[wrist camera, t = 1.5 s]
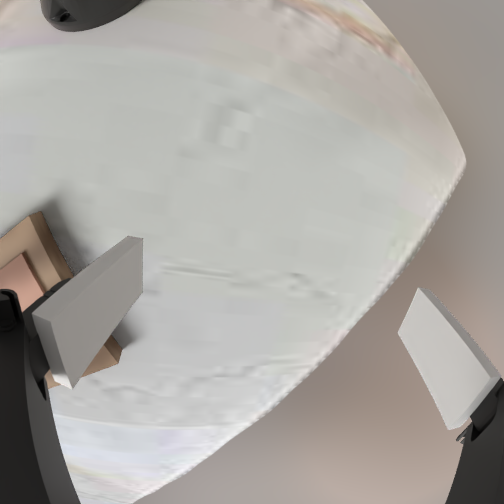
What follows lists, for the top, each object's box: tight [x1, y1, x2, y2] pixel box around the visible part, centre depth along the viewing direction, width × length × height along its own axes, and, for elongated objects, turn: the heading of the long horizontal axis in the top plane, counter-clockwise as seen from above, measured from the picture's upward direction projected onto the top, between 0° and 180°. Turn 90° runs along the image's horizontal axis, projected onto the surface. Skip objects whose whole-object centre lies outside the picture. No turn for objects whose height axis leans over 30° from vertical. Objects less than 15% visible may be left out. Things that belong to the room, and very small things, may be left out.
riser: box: [0, 211, 122, 389], centre depth 26 cm, size 20×20×4 cm
